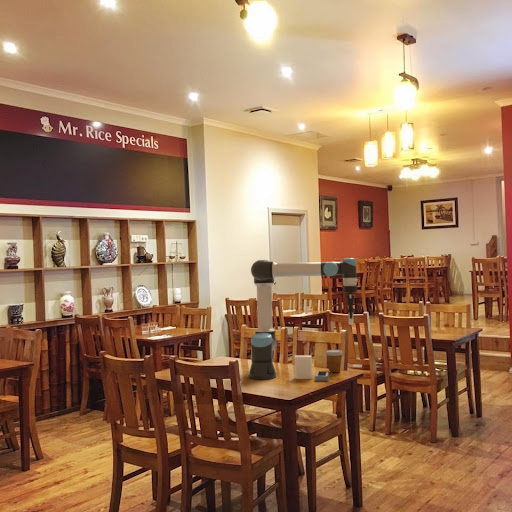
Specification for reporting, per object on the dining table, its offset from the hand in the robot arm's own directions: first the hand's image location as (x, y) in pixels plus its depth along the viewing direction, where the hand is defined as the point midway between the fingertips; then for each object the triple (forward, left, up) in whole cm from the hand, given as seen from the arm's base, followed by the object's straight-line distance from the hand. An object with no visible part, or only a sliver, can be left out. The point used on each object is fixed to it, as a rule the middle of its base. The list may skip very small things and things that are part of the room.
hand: (351, 323), depth 308 cm
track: (-16, -15, -28) cm, 36 cm away
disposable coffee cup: (-10, +3, -28) cm, 30 cm away
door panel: (-26, -15, -28) cm, 41 cm away
